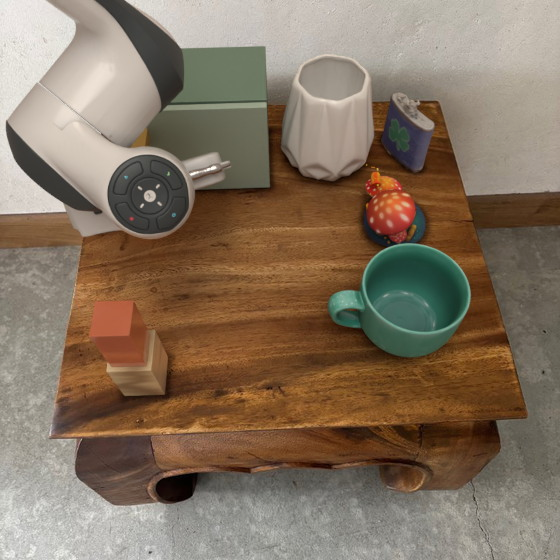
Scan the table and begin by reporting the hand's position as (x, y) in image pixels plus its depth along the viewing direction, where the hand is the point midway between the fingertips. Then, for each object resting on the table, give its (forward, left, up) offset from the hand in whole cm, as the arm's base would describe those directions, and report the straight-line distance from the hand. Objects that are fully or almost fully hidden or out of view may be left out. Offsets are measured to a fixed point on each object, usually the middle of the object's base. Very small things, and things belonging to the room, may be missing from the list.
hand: (145, 185), depth 75 cm
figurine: (+35, -2, -8) cm, 36 cm away
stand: (+1, -25, -7) cm, 26 cm away
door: (+7, +3, -7) cm, 10 cm away
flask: (+38, +12, -8) cm, 40 cm away
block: (+1, -25, +1) cm, 25 cm away
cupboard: (+7, +12, -7) cm, 16 cm away
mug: (+32, -18, -8) cm, 38 cm away
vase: (+26, +12, -8) cm, 29 cm away
